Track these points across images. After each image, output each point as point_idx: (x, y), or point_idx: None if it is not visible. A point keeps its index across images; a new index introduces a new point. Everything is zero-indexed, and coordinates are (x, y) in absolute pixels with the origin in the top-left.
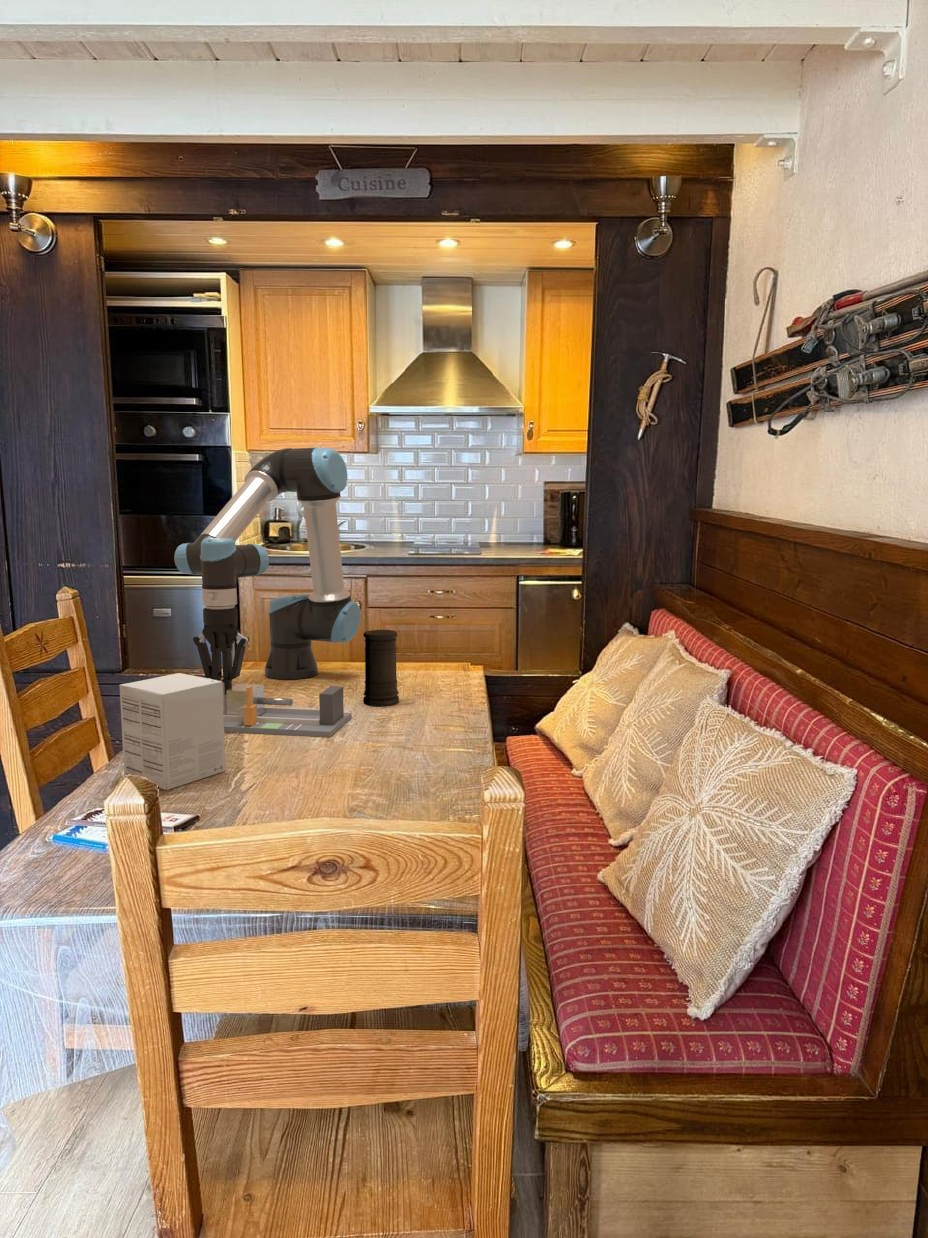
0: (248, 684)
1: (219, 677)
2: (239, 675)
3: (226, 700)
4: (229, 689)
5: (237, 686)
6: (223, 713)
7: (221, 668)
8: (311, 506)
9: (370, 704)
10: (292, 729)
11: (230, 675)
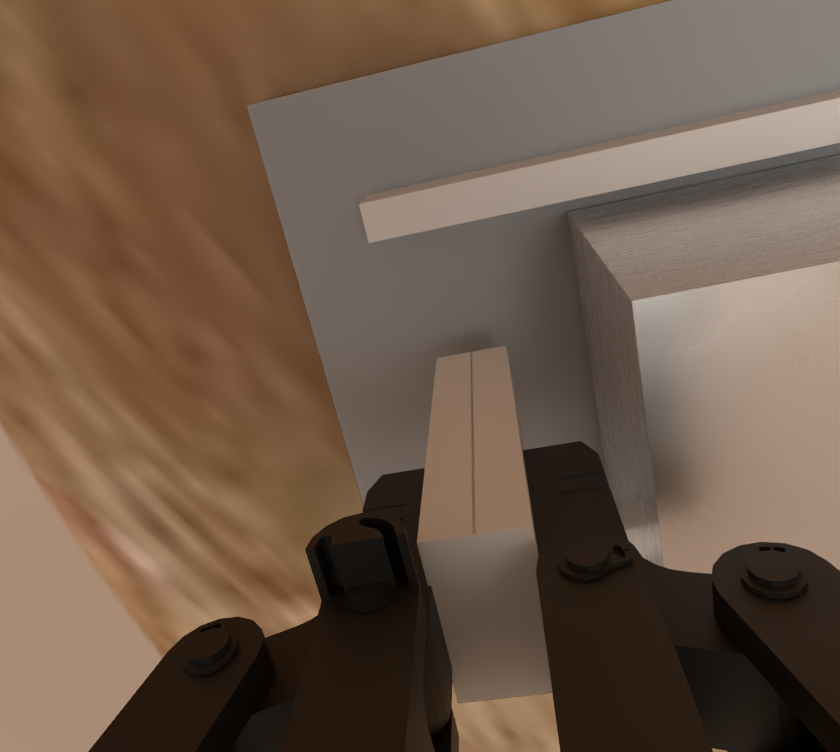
0: (834, 298)
1: (439, 673)
2: (822, 567)
3: (522, 441)
4: None
5: (713, 484)
6: (433, 324)
7: (412, 734)
8: None
9: None
10: None
11: (711, 734)
